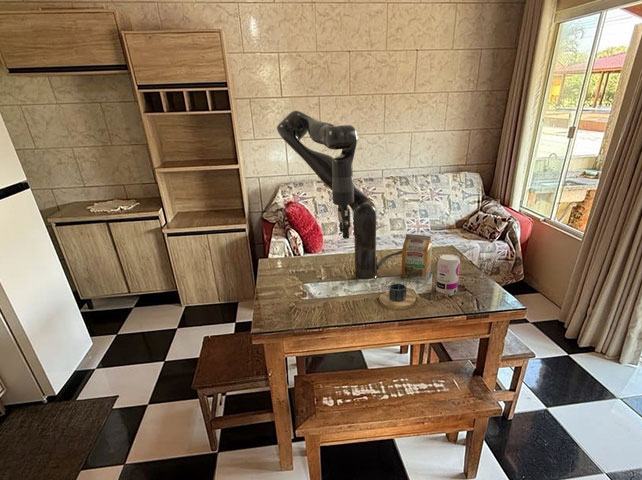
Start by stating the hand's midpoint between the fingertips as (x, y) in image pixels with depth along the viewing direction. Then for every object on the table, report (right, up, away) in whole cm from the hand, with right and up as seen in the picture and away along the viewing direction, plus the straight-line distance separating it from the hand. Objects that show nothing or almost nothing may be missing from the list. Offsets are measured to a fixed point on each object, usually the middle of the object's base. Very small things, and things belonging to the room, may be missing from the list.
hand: (344, 234), depth 150 cm
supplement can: (+41, -20, +15) cm, 48 cm away
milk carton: (+32, -12, +30) cm, 45 cm away
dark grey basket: (+21, -23, +8) cm, 32 cm away
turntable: (+21, -24, +9) cm, 33 cm away
